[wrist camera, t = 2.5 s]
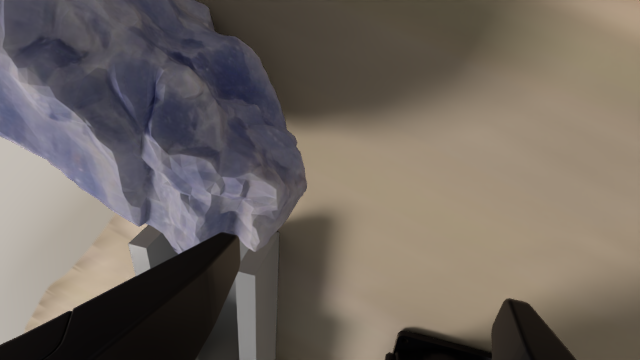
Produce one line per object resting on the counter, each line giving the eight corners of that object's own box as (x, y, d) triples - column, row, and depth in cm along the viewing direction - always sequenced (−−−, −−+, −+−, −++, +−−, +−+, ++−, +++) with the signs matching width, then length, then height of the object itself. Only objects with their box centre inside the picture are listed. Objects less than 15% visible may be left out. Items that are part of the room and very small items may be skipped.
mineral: (80, 73, 22) (-131, 141, 14) (113, -101, 17) (-189, -159, 9) (286, 207, 23) (205, 344, 15) (375, 79, 18) (326, 180, 10)
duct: (279, 232, 24) (255, 275, 21) (274, 392, 34) (256, 439, 30) (167, 206, 26) (128, 243, 23) (192, 366, 35) (166, 409, 32)
